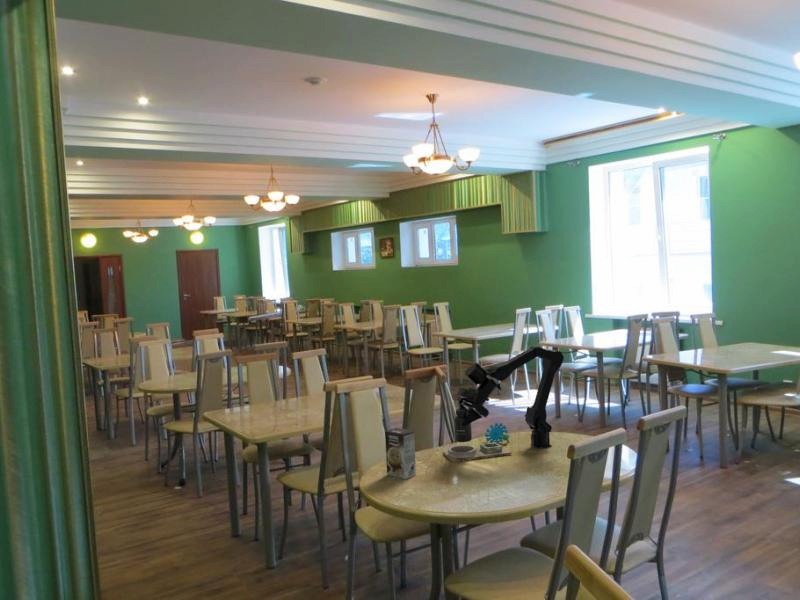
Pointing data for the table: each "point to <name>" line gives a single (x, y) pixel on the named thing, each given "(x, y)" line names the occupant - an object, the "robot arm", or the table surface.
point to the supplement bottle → (462, 431)
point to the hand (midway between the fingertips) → (459, 423)
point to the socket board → (479, 454)
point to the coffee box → (400, 453)
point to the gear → (497, 433)
